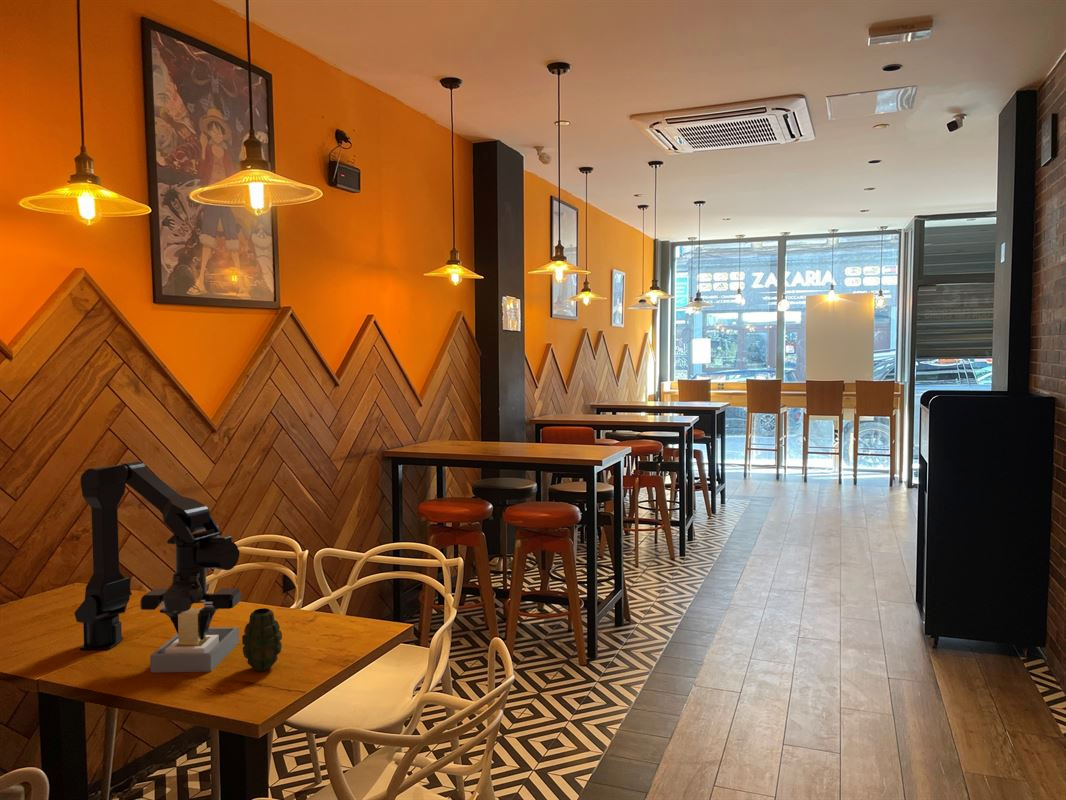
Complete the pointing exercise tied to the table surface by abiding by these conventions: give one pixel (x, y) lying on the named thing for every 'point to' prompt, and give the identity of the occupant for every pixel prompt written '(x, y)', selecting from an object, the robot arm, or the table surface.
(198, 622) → the peg
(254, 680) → the table surface
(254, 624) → the grenade
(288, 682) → the table surface
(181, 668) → the walled frame
